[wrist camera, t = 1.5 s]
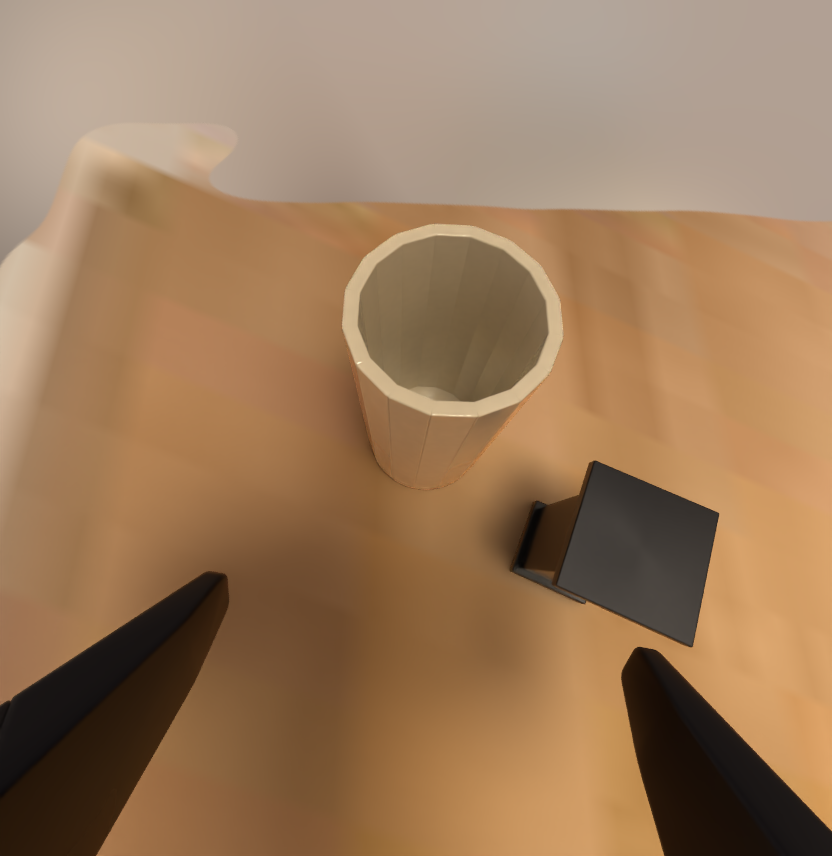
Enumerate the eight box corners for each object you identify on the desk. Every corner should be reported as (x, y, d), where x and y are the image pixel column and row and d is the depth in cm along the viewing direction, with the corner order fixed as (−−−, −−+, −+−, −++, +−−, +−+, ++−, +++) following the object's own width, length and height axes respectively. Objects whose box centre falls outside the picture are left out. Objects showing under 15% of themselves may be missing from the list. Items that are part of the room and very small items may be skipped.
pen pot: (454, 508, 22) (520, 454, 10) (351, 462, 23) (301, 360, 11) (494, 410, 24) (589, 269, 12) (398, 369, 25) (399, 196, 13)
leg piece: (585, 614, 21) (693, 648, 13) (499, 575, 21) (555, 585, 14) (610, 527, 22) (720, 512, 15) (528, 491, 23) (594, 459, 15)
